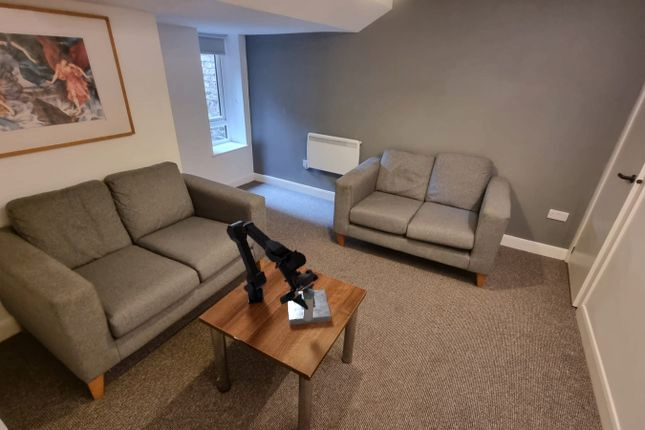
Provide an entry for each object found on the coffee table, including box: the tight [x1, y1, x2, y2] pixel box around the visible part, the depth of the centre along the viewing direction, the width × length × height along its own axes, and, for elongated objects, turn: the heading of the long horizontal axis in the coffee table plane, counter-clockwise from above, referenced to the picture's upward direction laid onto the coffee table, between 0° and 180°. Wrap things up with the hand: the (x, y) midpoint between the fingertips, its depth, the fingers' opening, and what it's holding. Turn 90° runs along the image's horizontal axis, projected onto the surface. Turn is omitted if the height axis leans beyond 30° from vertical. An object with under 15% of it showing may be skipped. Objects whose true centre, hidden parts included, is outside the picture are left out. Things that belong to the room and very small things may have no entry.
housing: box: [287, 289, 332, 326], centre depth 143 cm, size 18×18×3 cm
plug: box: [302, 288, 314, 321], centre depth 126 cm, size 5×5×13 cm
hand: (310, 306), depth 126 cm, fingers closed on plug, 4 cm apart
